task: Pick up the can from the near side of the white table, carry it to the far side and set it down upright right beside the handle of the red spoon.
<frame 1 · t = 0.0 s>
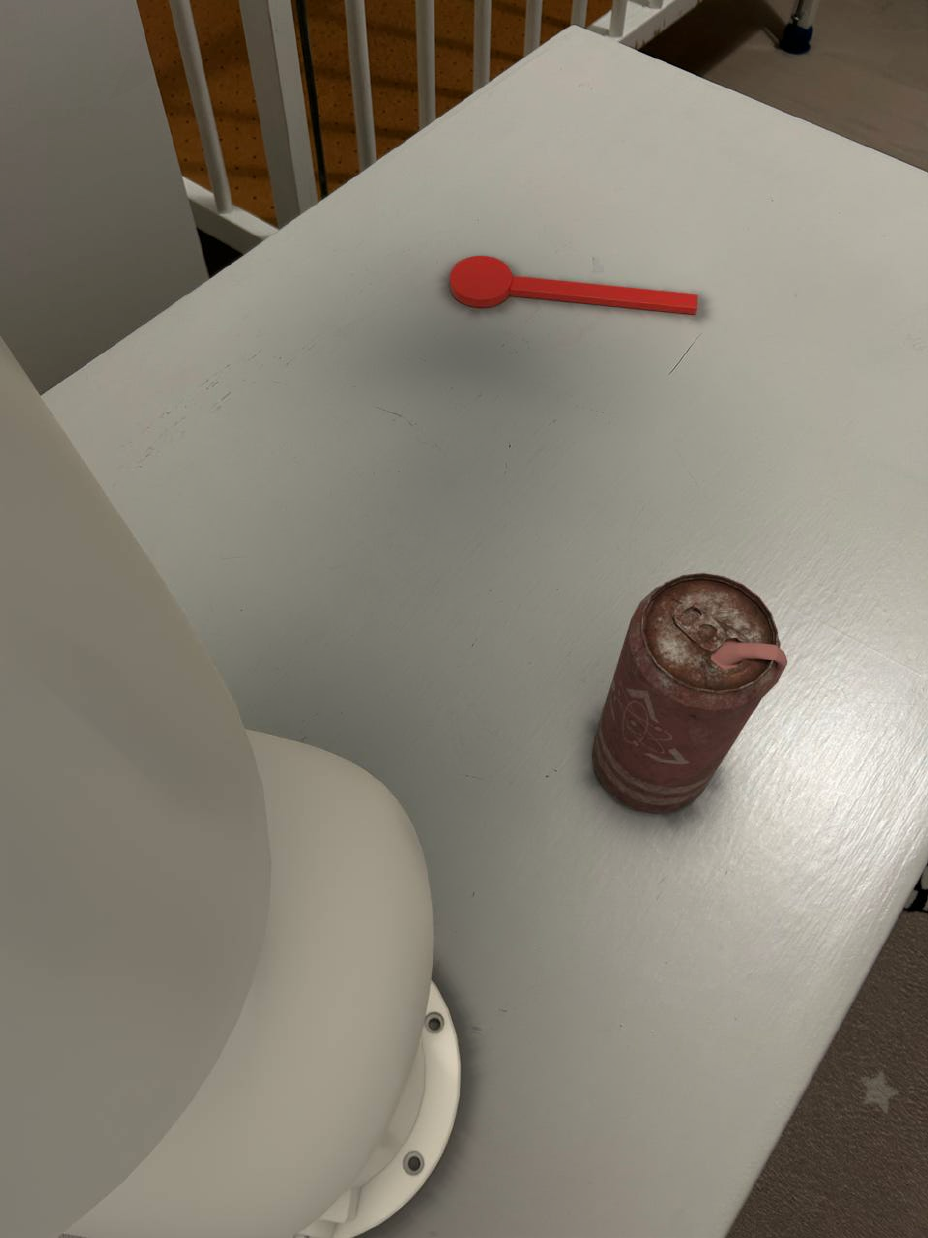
spoon: (559, 293, 68), on the dresser
can: (651, 762, 51), on the dresser
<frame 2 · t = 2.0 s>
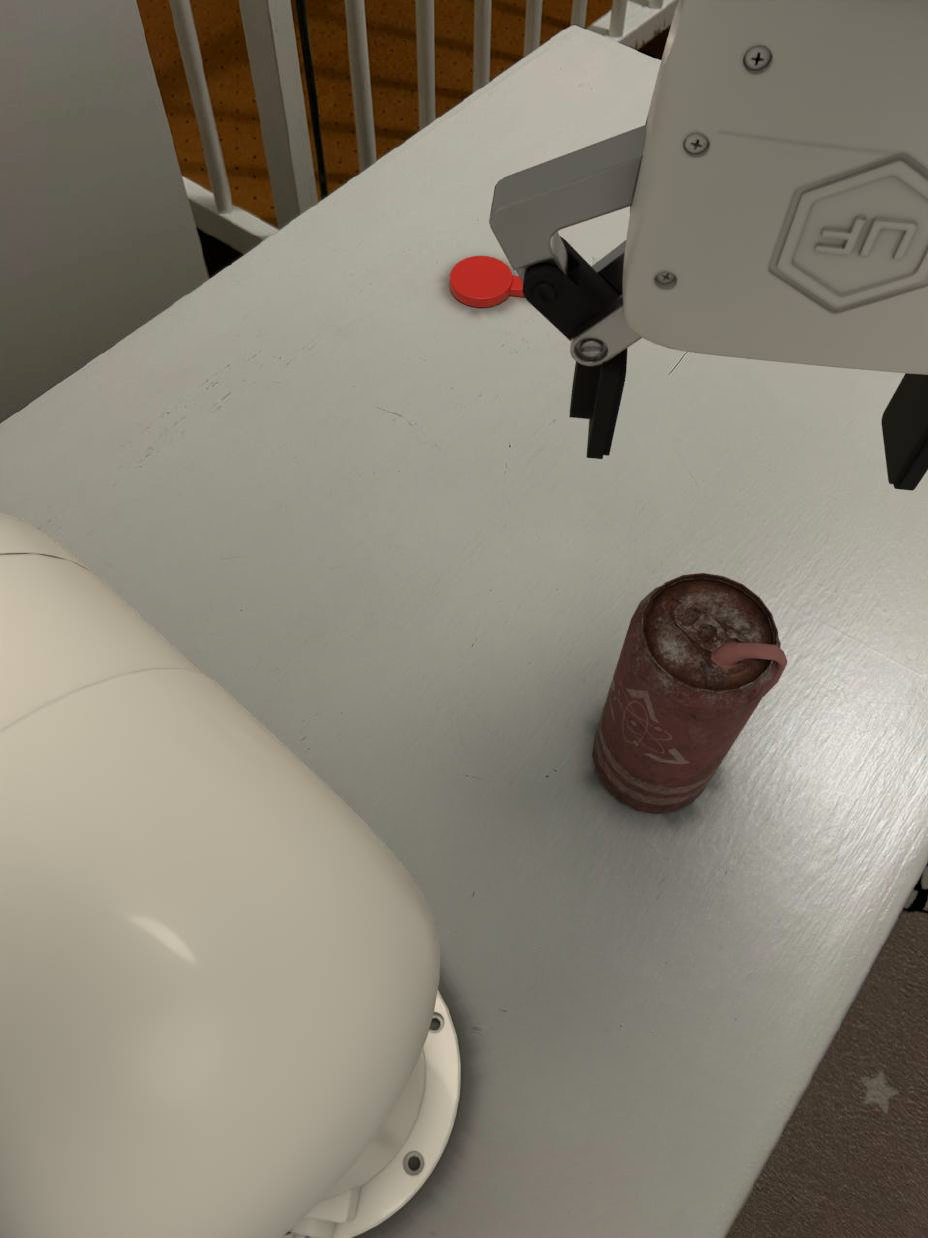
hand: (745, 440, 32), 23 cm above the dresser, tool pointing down, fingers open, 9 cm apart
nothing on the dresser moved.
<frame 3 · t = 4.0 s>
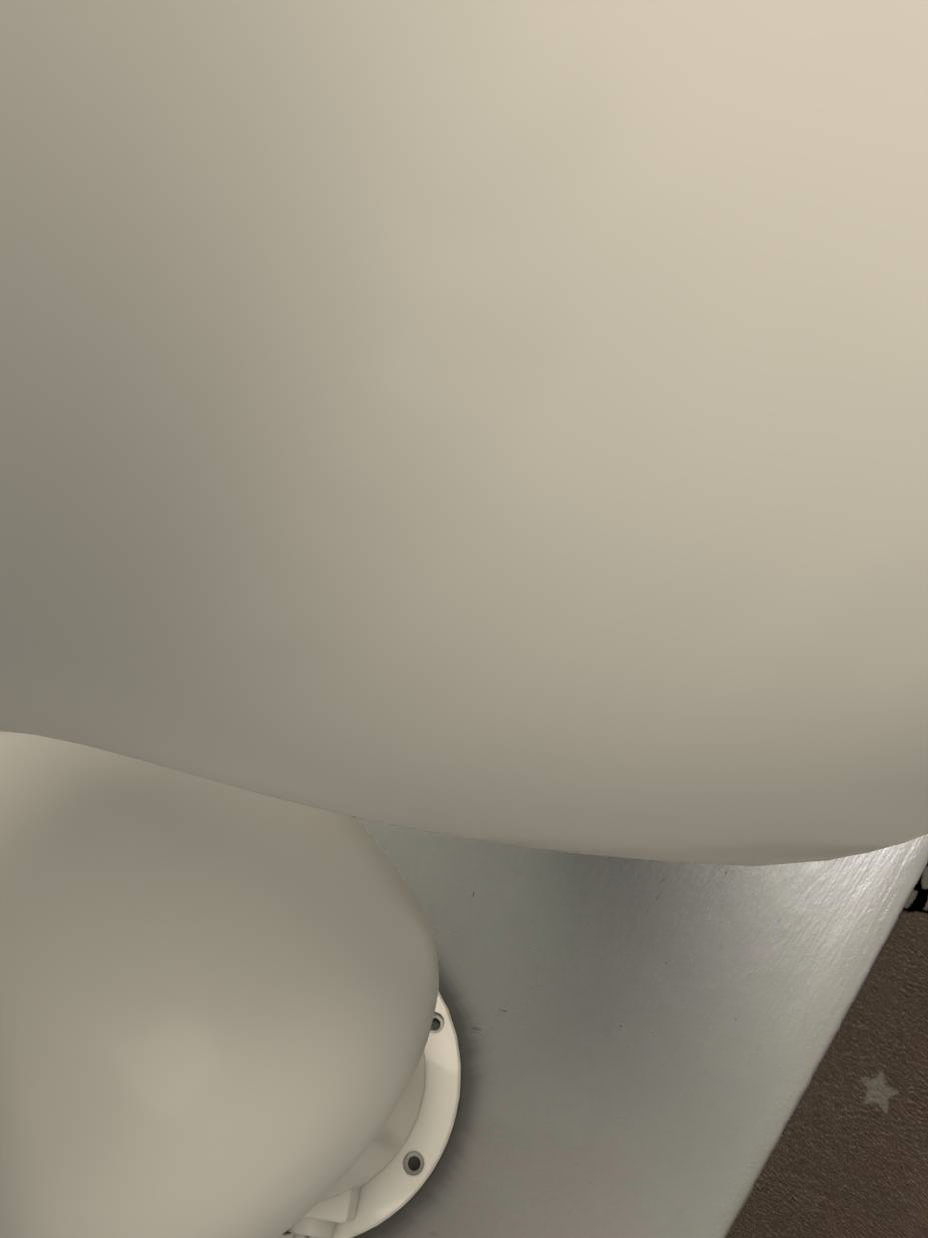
hand: (688, 684, 43), 9 cm above the dresser, tool pointing down, fingers closed on can, 6 cm apart
can: (651, 762, 51), on the dresser, touching gripper
everything else where it was.
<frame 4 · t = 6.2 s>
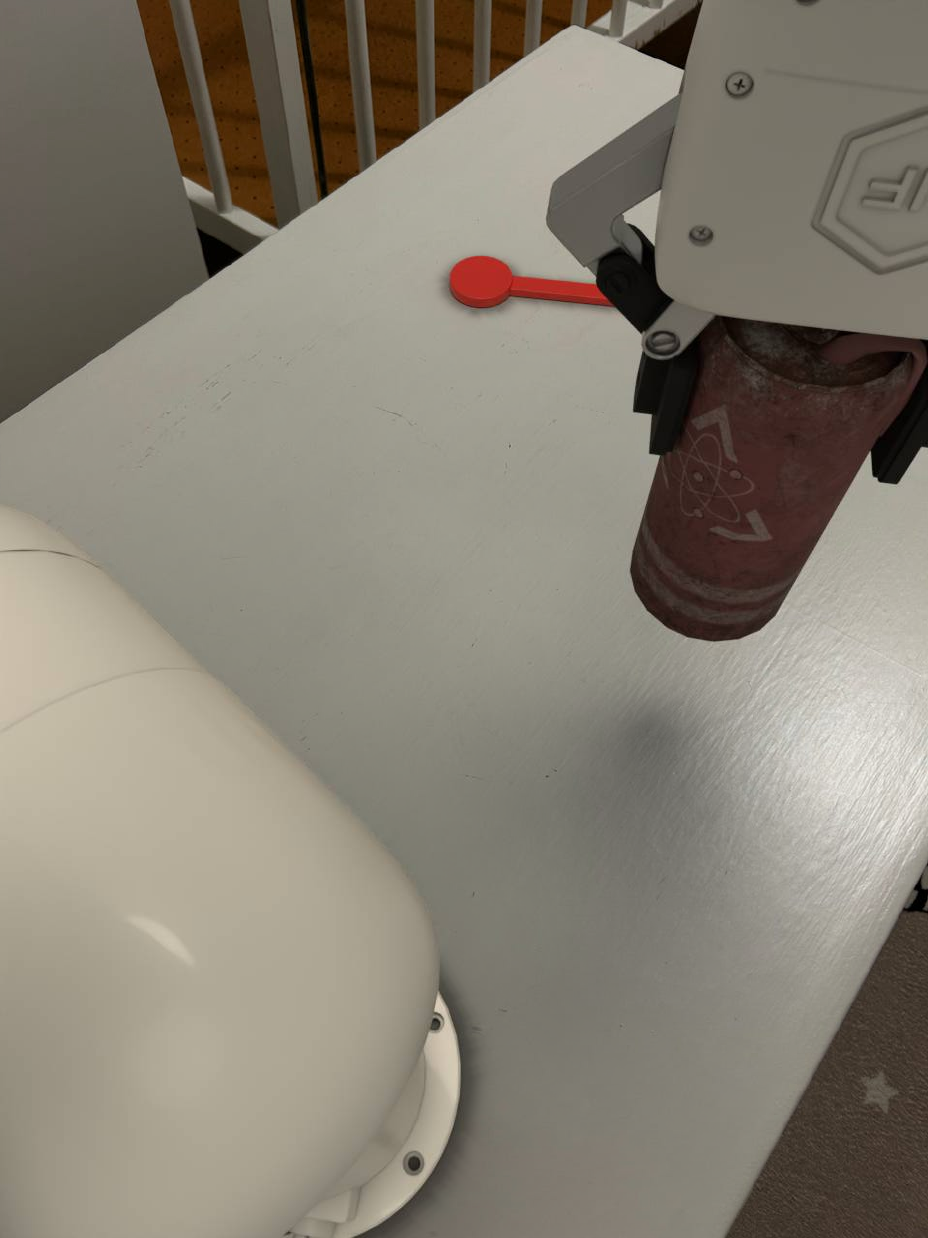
hand: (771, 431, 31), 24 cm above the dresser, tool pointing down, fingers closed on can, 6 cm apart
can: (706, 585, 39), point 14 cm above the dresser, touching gripper
everything else where it was.
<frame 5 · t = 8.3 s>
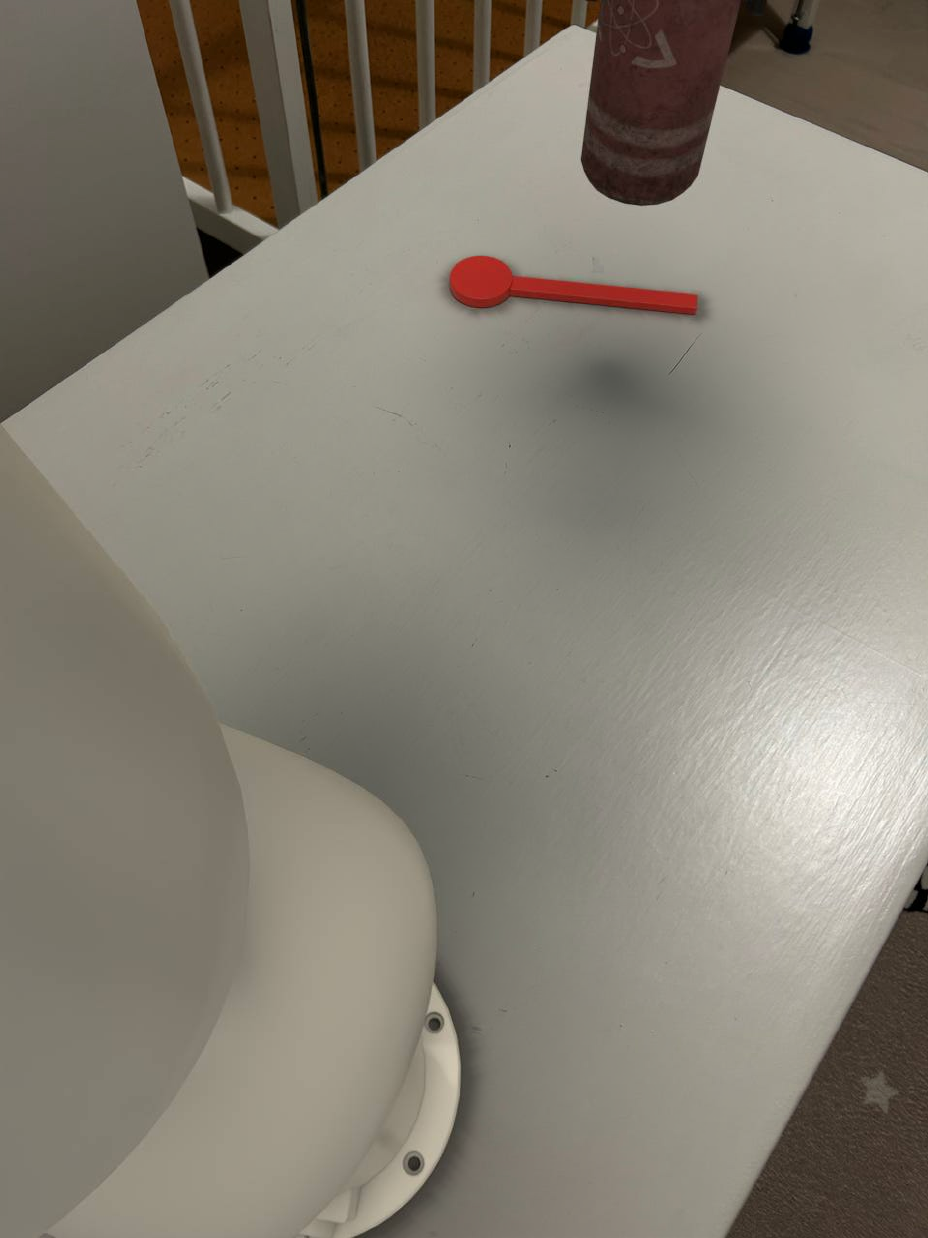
can: (640, 175, 51), point 15 cm above the dresser, touching gripper
everything else where it was.
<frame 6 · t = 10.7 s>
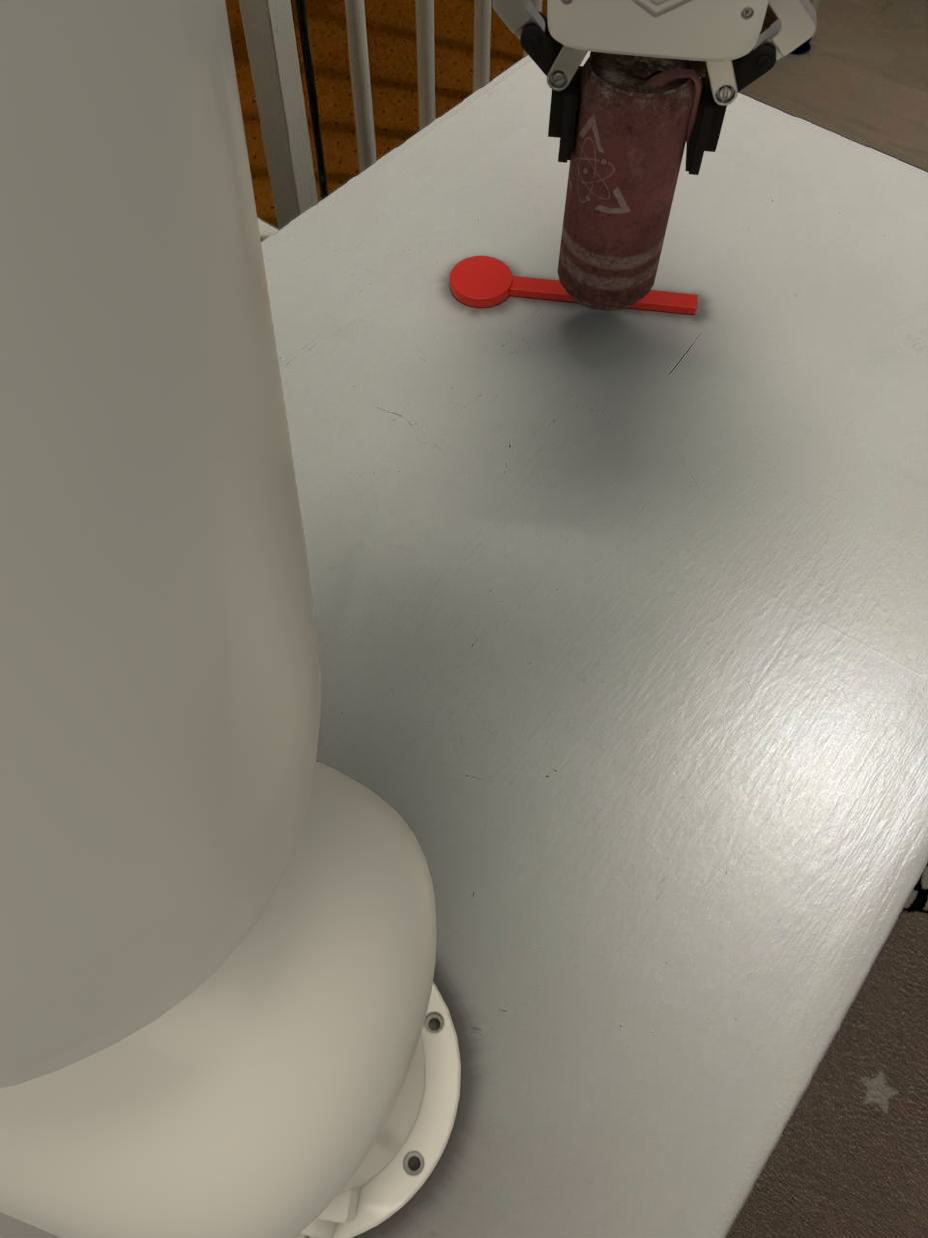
hand: (629, 150, 54), 14 cm above the dresser, tool pointing down, fingers closed on can, 6 cm apart
can: (606, 283, 62), point 5 cm above the dresser, touching gripper
everything else where it was.
when the fingers open (9 cm above the dresser, at t = 12.4 s): can stays where it is, on the dresser.
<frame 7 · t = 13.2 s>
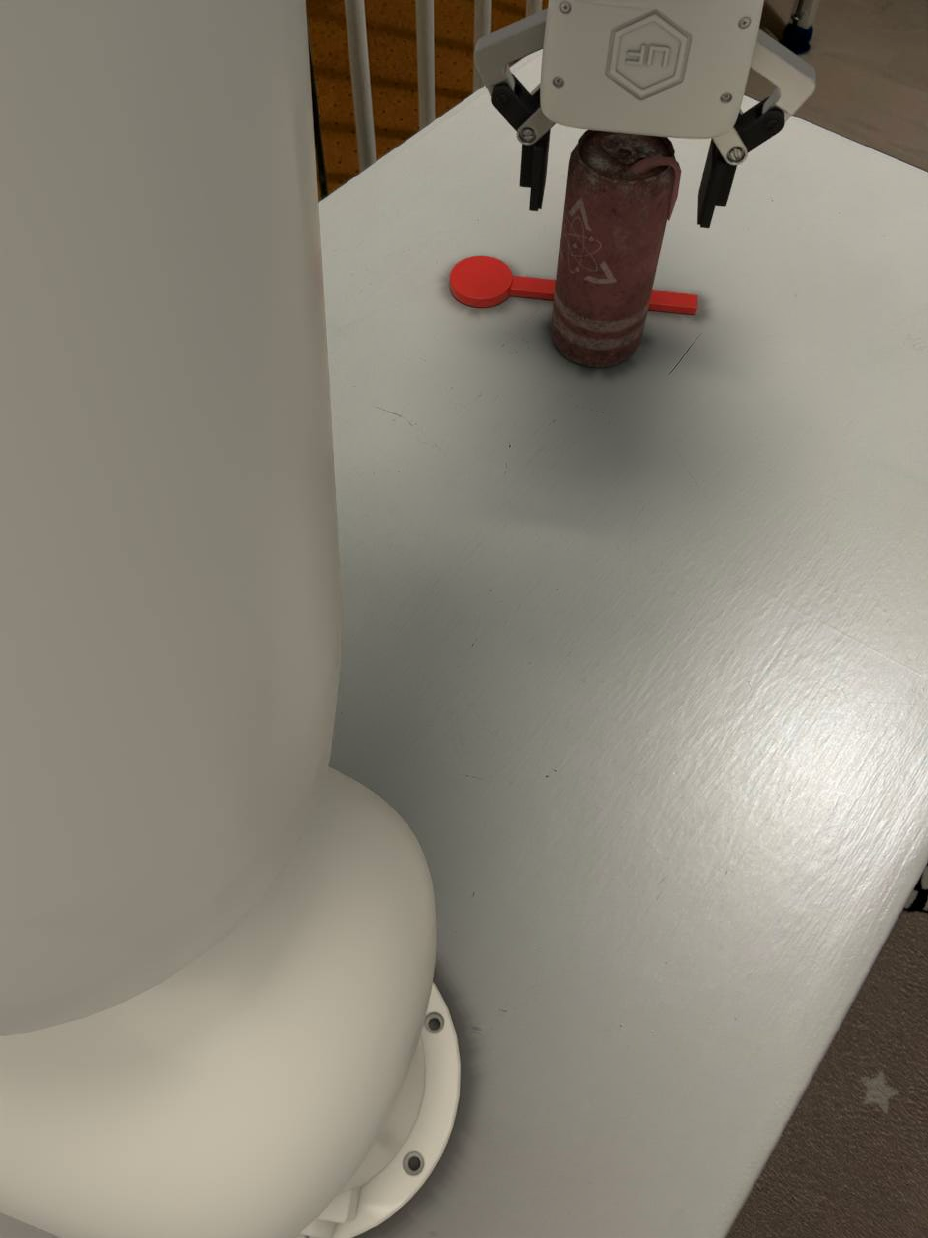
hand: (619, 204, 56), 11 cm above the dresser, tool pointing down, fingers open, 9 cm apart
can: (596, 340, 66), on the dresser
everything else where it was.
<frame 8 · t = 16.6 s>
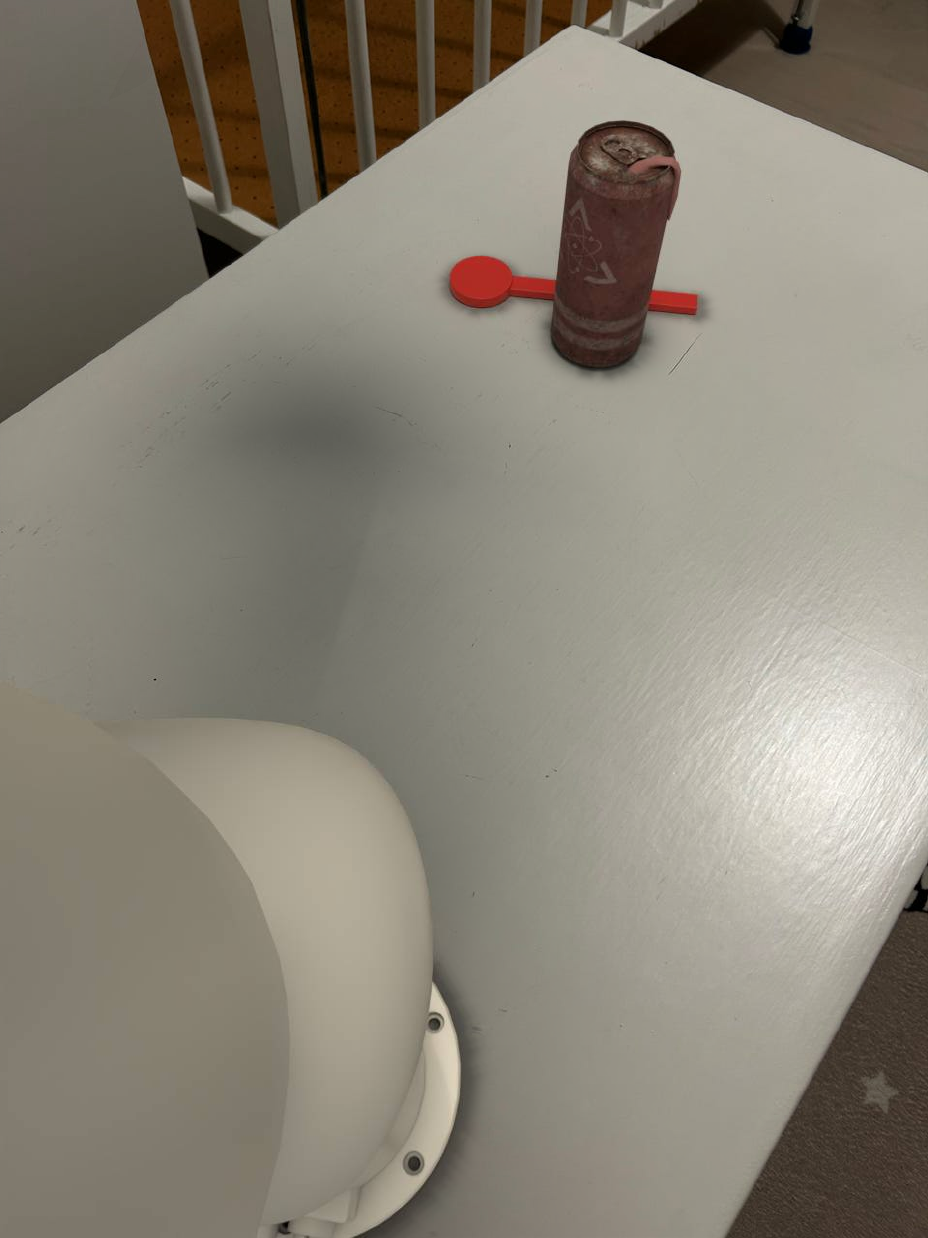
nothing on the dresser moved.
at the end: can 4.9 cm from the spoon (horizontally); can tilted 0°; spoon moved 0.0 cm from its start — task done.
